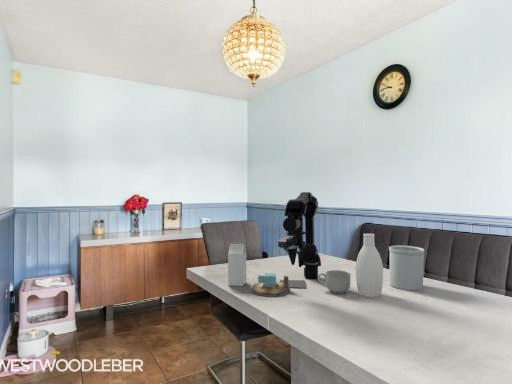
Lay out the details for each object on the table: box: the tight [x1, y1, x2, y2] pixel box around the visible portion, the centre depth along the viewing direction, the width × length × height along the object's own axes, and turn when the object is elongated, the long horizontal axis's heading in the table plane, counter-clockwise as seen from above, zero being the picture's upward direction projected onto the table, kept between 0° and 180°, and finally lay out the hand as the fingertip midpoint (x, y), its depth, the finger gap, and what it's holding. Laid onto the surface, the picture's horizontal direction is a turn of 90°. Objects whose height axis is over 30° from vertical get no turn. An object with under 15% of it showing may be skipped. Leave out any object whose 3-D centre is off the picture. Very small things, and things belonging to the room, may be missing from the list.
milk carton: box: [227, 243, 247, 287], centre depth 153 cm, size 7×7×19 cm
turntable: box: [251, 275, 290, 294], centre depth 143 cm, size 16×16×5 cm
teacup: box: [317, 269, 352, 294], centre depth 141 cm, size 14×11×8 cm
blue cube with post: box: [257, 272, 277, 287], centre depth 143 cm, size 8×5×5 cm, turn 85°
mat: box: [279, 279, 307, 289], centre depth 152 cm, size 12×12×1 cm
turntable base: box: [250, 287, 291, 297], centre depth 143 cm, size 17×17×1 cm
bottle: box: [355, 233, 384, 299], centre depth 136 cm, size 11×11×25 cm
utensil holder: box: [388, 245, 426, 291], centre depth 148 cm, size 15×15×18 cm
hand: (296, 266), depth 137 cm, fingers open, 4 cm apart
